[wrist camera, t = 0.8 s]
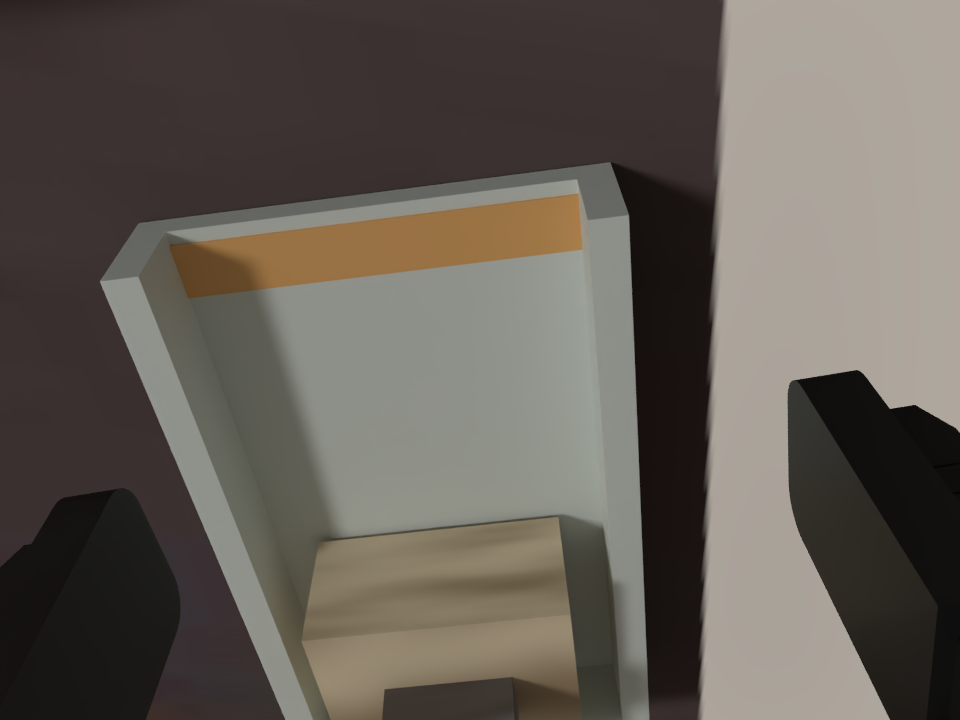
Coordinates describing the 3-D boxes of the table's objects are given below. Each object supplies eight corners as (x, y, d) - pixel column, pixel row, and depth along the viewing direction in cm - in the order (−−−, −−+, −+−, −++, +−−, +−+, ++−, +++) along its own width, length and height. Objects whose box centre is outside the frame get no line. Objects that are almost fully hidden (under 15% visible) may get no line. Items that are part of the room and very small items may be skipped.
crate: (318, 542, 38) (283, 739, 30) (558, 516, 37) (582, 712, 30) (362, 676, 43) (341, 873, 35) (573, 655, 42) (597, 852, 35)
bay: (139, 223, 31) (76, 316, 26) (610, 162, 30) (640, 246, 25) (316, 690, 45) (298, 807, 40) (635, 659, 44) (657, 775, 39)
